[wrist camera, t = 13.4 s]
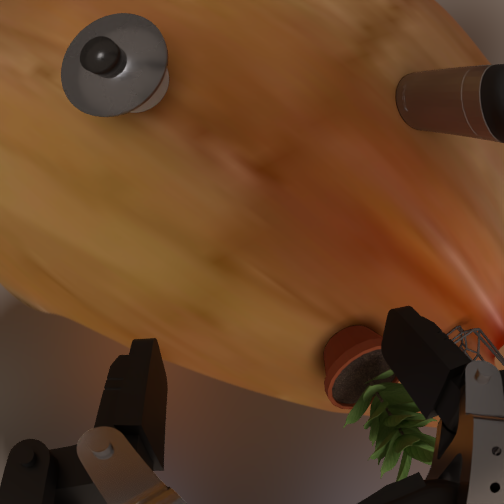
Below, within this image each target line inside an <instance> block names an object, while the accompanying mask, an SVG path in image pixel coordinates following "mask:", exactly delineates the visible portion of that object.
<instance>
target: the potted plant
mask: <svg viewBox="0 0 504 504" xmlns="http://www.w3.org/2000/svg"><path fill="white" fill-rule="evenodd" d="M382 338H383V337H382V336H380V335H379V334H377V333H375V332H374V331H372V330H371V329H369V328H367V327H365V326H361V325H357V326H350V327H347V328H344V329H343V330H341V331H339V332H338V333H336V334H335V335H334V336H333V337H332V338H331V339H330V340H329V342H328V343H327V345H326V346H325V350H324V362H325V371H326V378H325V381H324V385H325V392H326V394H327V396H328V398H329V400H330V401H331V402H332V404H333V405H335V406H337V407H339V408H341V409H352V410H351V411H350V413H349V414H348V417H347V419H346V424H345V425H344V427H345V426H346V425H347V424H351V423H354V422H356V421H358V420H359V419H360V418H361V416H362V415H363V414H364V412H365V411H366V410H367V408H368V406H369V405H370V404H371V410H370V418H369V420H368V421H367V422H366V424H365V425H364V429H367V428H368V427H369V426H370V427H371V430H370V436H369V439H370V441H372V446H373V444H374V442H375V441H376V446H375V452H374V453H373V454H372V455H371V457H370V458H371V459H376V458H378V465H379V462H380V460H381V459H382V458H384V457H385V459H384V462H383V465H382V468H381V477H382V476H383V474H384V473H385V472H387V471H389V470H391V469H392V468H393V467H394V466H395V465H396V463H397V461H398V459H399V457H400V454H401V451H402V450H403V451H404V452H403V456H402V460H401V465H400V468H399V472H398V476H397V480H396V481H399V480H401V479H404V478H406V477H407V475H408V472H409V469H410V465H411V460H412V458H414V459H416V460H419V461H421V462H423V463H426V464H428V465H431V464H432V459H433V453H434V447H435V440H436V438H434V437H431V436H429V435H426V434H423V433H421V432H420V430H419V429H418V428H417V427H423V426H425V425H427V424H428V423H429V422H431V421H437V420H435V419H432V418H430V419H428V420H426V419H425V417H424V416H423V414H421V413H416V412H419V411H420V410H419V408H418V407H417V406H416V404H415V403H414V401H413V400H412V398H411V397H410V395H409V394H408V392H407V391H406V390H405V388H404V387H403V385H402V384H400V383H398V382H399V380H398V378H397V377H396V375H395V374H394V372H393V371H392V370H391V368H390V367H389V365H388V364H387V363H386V361H385V360H384V358H383V355H382V351H381V343H382Z"/></svg>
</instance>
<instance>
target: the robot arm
mask: <svg viewBox="0 0 504 504" xmlns="http://www.w3.org/2000/svg"><path fill="white" fill-rule="evenodd" d="M396 101H397V106H398V110H399V112H400V114H401V116H402V118H403V119H404V121H405V122H406V123H407V124H408V125H409V126H411V127H412V128H414V129H417V130H423V131H431V132H438V133H445V134H453V135H460V136H466V137H472V138H478V139H484V140H490V141H495V142H500V143H504V64H500V65H499V64H498V65H482V66H469V67H458V68H448V69H439V70H431V71H423V72H416V73H411V74H407V75H406V76H404V77H403V78H402V79H401V81H400V82H399V84H398V87H397V91H396ZM381 351H382V355H383V358H384V360H385V361H386V363H387V364H388V365H389V367H390V368H391V370H392V371H393V372H394V374H395V375H396V377H397V378H398V380H399V381H400V382H401V384H402V385H403V387H404V388H405V390H406V391H407V392H408V394H409V395H410V397H411V398H412V400H413V401H414V403H415V404H416V406H417V407H418V408H419V410H420V411H421V413H422V414H423V416H424V417H425V419H426V420H428V419H430V418H433V417H435V416H437V415H439V417H440V418H441V419H440V421H439V423H438V426H437V434H436V440H435V447H434V453H433V459H432V464H431V468H430V470H429V473H428V475H427V477H426V479H425V480H423V478H422V477H421V475H420V473H419V472H418V473H416V474H413V475H411V476H409V477H406V478H404V479H401V480H399V481H396V482H394V483H391V484H389V485H386V486H385V487H383V488H382V489H380V490H379V491H377V492H376V493H374V494H372V495H371V496H369V497H368V498H366V499H364V500H363V501H361V502H359V503H358V504H504V370H498V369H497V368H496V367H495V366H494V365H492V364H491V363H489V362H486V361H480V360H477V361H473V362H472V361H471V360H470V359H469V358H468V357H467V356H466V355H465V353H464V352H463V351H462V350H461V349H460V348H459V347H458V346H457V345H456V344H455V343H454V342H453V341H452V340H451V339H449V337H448V336H447V335H446V334H445V333H442V330H441V329H440V328H439V327H438V326H437V325H436V324H435V323H434V322H432V321H430V320H428V319H426V318H424V317H423V316H422V317H421V316H420V315H419V314H418V313H417V312H416V311H415V310H414V309H413V308H412V307H411V306H405V307H400V308H395V309H391V310H390V311H389V313H388V316H387V320H386V325H385V330H384V334H383V338H382V343H381ZM104 388H105V390H104V391H103V394H102V398H101V402H100V406H99V410H98V414H97V418H96V422H95V426H94V428H93V429H91V430H89V431H87V432H86V433H84V435H82V436H81V438H80V439H79V441H78V444H76V445H73V446H68V447H63V448H58V449H51V450H49V449H48V448H47V447H46V446H45V444H43V443H42V442H40V441H39V440H35V439H27V440H23V441H21V442H19V443H17V444H16V445H15V446H14V447H13V448H12V449H11V451H10V453H9V456H8V459H7V463H6V466H5V470H4V474H3V478H2V482H1V486H0V504H187V503H186V502H185V501H184V500H183V499H182V498H181V497H180V496H179V495H178V494H177V493H176V492H175V491H174V490H173V489H171V488H170V487H167V486H166V485H165V484H164V483H163V482H162V481H161V480H160V479H159V478H158V477H157V476H156V474H155V473H154V472H153V471H163V470H164V444H165V421H166V404H167V377H166V372H165V369H164V365H163V361H162V357H161V353H160V349H159V345H158V342H157V339H156V338H150V339H134V340H133V341H132V345H131V349H130V353H129V355H120V356H118V358H117V359H116V360H115V361H114V362H113V363H112V365H111V366H110V369H109V373H108V376H107V380H106V383H105V387H104Z"/></svg>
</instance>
